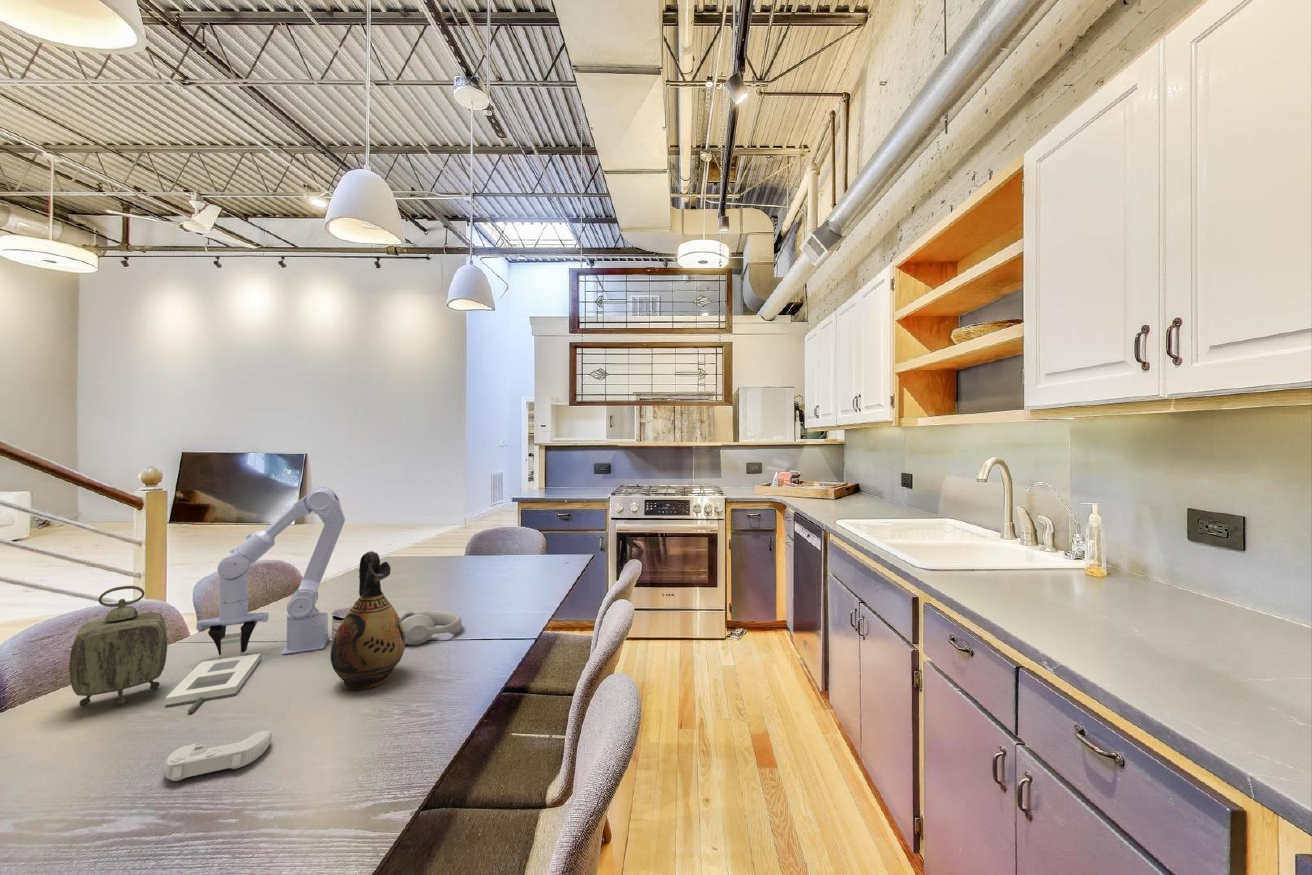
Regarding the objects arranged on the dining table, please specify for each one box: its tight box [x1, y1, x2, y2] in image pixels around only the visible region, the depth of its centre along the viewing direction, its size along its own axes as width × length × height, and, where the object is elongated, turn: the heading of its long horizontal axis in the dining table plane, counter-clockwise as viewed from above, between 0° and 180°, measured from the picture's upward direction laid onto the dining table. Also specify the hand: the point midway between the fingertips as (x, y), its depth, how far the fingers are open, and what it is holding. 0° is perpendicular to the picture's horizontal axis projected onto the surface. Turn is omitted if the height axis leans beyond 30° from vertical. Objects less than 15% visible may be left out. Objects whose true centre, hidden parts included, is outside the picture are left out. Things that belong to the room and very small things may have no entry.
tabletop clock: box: [68, 585, 168, 707], centre depth 111 cm, size 14×9×25 cm, turn 134°
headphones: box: [396, 610, 462, 646], centre depth 150 cm, size 18×8×20 cm
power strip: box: [164, 653, 262, 714], centre depth 117 cm, size 12×26×2 cm, turn 25°
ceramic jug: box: [329, 550, 406, 692], centre depth 121 cm, size 17×15×30 cm
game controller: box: [162, 729, 273, 782], centre depth 89 cm, size 14×4×10 cm
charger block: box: [220, 632, 246, 659], centre depth 133 cm, size 4×4×6 cm
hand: (233, 652), depth 133 cm, fingers closed on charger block, 4 cm apart
